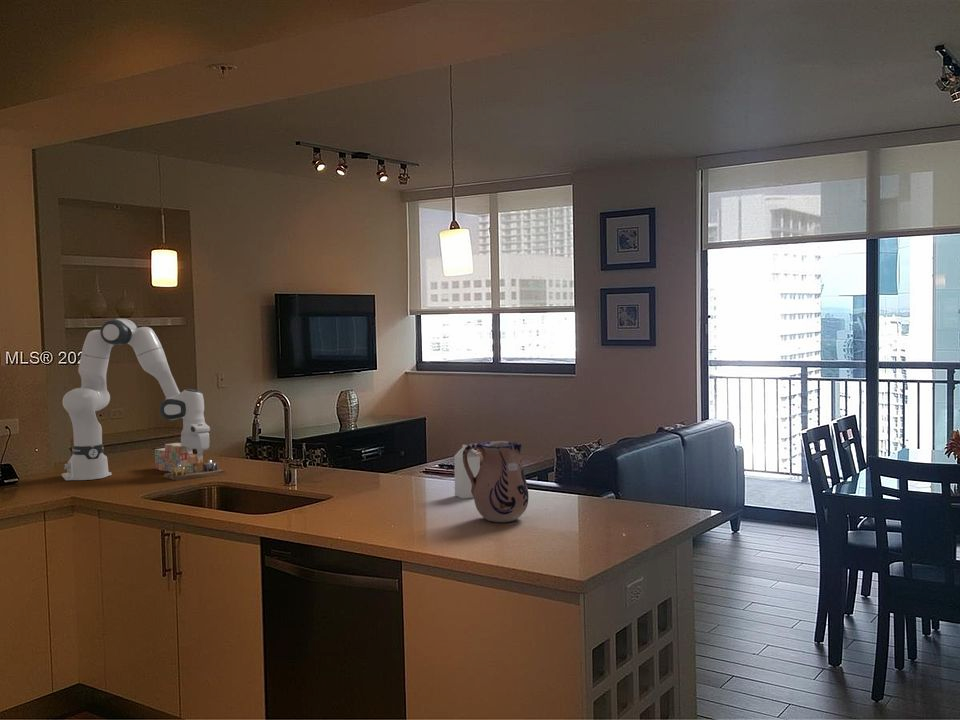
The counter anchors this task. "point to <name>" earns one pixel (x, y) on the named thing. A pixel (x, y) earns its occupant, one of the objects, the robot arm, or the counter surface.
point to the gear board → (193, 474)
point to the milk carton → (461, 475)
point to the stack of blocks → (171, 457)
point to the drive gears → (183, 469)
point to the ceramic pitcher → (498, 481)
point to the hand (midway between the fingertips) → (195, 458)
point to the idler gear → (194, 459)
